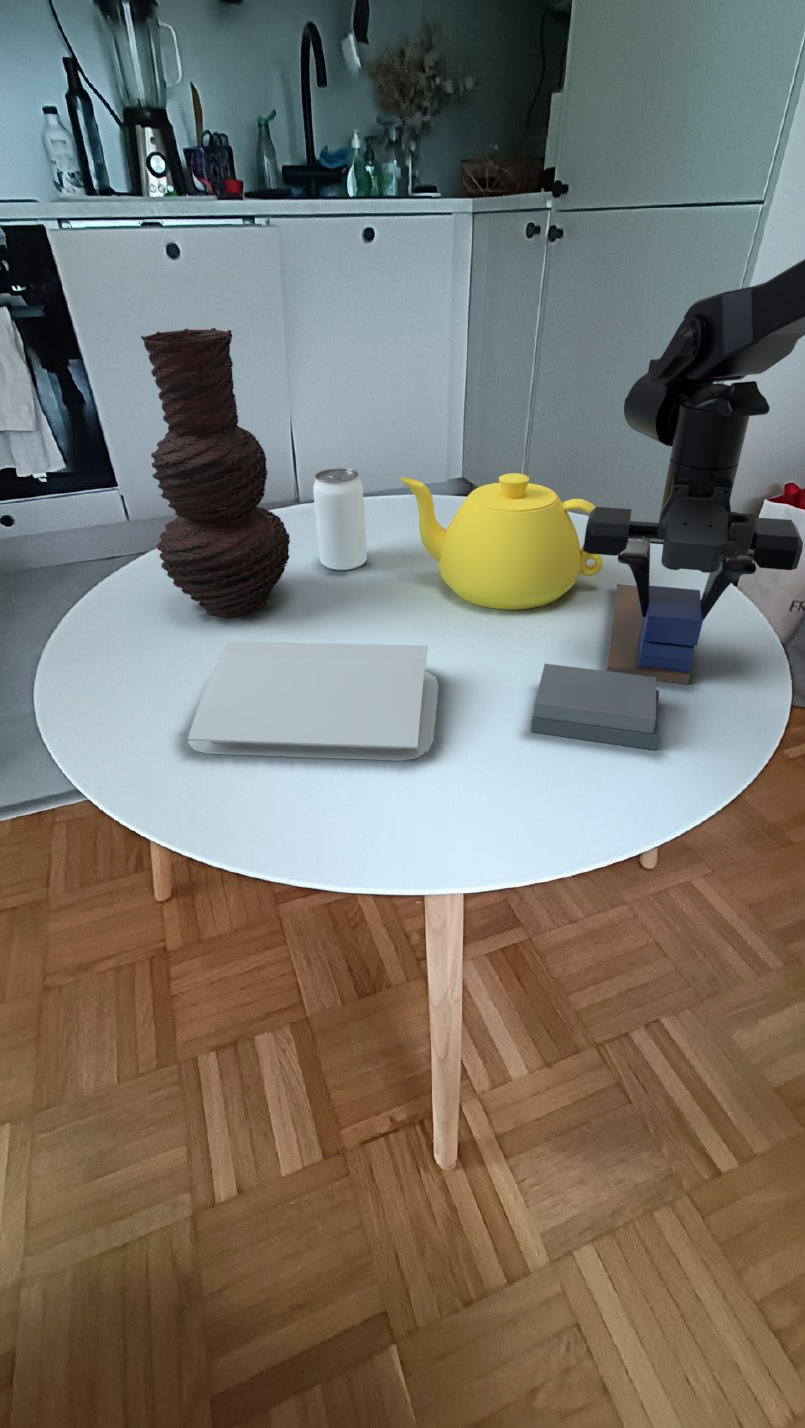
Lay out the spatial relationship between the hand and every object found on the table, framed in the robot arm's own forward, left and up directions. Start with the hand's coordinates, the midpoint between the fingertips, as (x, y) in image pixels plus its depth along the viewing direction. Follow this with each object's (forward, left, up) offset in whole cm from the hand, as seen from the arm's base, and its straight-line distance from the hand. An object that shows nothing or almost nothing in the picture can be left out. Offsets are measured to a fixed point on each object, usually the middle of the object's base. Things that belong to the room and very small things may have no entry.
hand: (671, 618), depth 72 cm
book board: (+2, -6, -5) cm, 8 cm away
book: (+32, +17, -5) cm, 37 cm away
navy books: (0, 0, -5) cm, 5 cm away
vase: (+51, -2, -5) cm, 51 cm away
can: (+42, -17, -5) cm, 46 cm away
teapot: (+20, -15, -5) cm, 26 cm away
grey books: (+6, +12, -5) cm, 14 cm away
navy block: (0, 0, -1) cm, 1 cm away
